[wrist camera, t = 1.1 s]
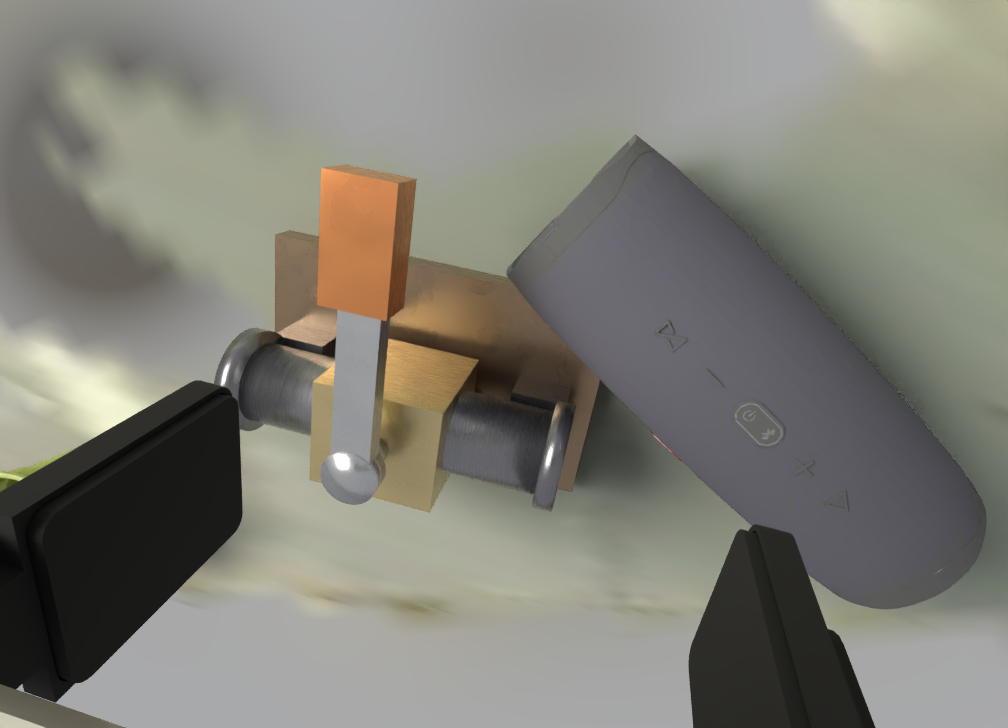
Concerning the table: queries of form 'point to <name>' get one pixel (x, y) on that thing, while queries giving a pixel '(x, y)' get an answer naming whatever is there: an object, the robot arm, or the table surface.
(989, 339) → the table surface
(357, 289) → the lever
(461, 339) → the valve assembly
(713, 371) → the bluetooth speaker
